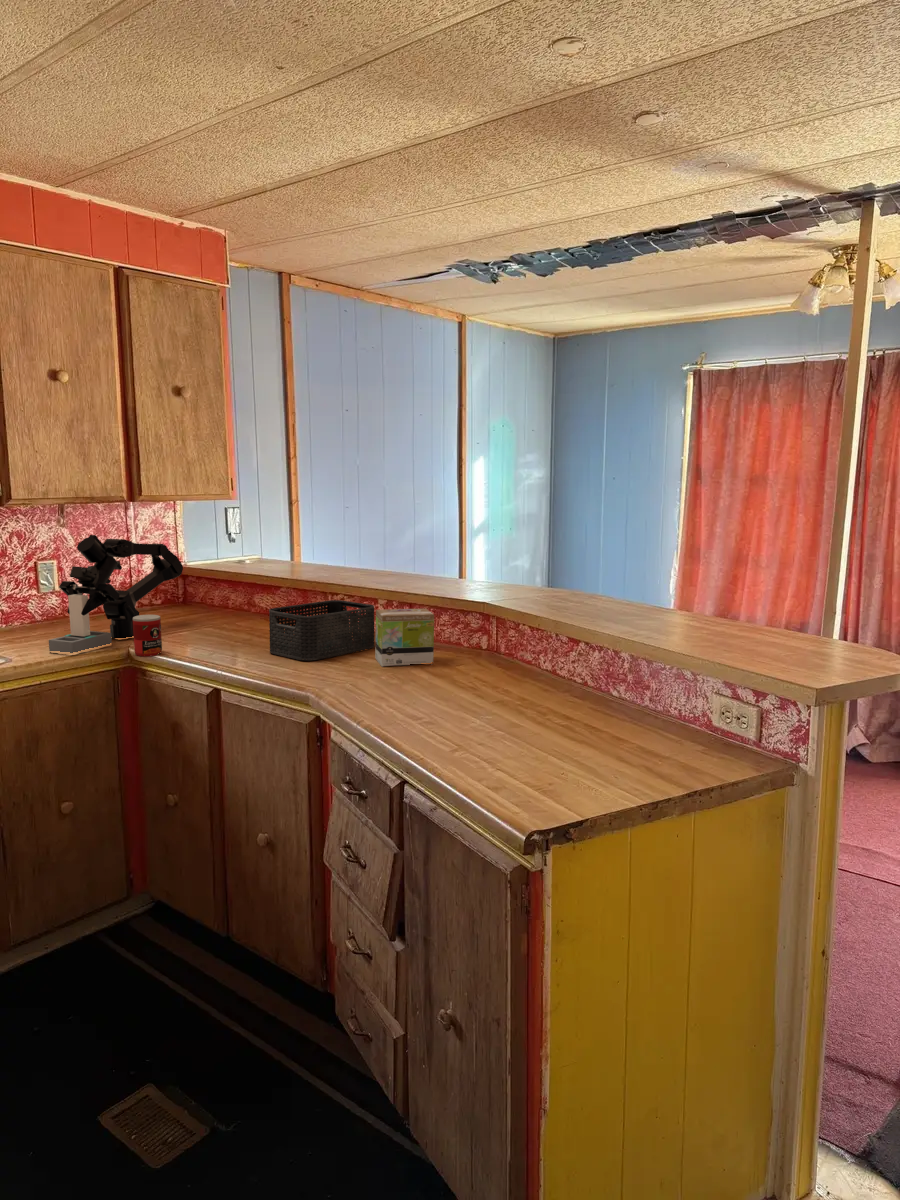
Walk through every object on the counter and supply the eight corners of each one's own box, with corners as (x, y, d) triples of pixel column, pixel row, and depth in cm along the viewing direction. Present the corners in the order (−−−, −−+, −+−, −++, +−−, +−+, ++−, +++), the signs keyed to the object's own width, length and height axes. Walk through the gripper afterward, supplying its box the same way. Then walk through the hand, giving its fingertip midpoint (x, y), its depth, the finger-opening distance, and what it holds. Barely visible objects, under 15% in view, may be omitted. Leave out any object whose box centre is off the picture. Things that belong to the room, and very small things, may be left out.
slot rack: (89, 643, 258) (88, 629, 257) (111, 645, 255) (111, 632, 254) (49, 653, 244) (48, 639, 243) (72, 655, 241) (71, 641, 240)
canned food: (144, 658, 239) (142, 620, 237) (128, 654, 244) (126, 617, 242) (167, 653, 245) (166, 616, 243) (152, 649, 250) (150, 613, 248)
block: (77, 633, 251) (74, 594, 249) (90, 634, 249) (87, 595, 247) (70, 635, 248) (68, 595, 246) (83, 636, 246) (81, 596, 244)
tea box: (381, 667, 229) (381, 615, 227) (375, 659, 239) (374, 608, 237) (434, 664, 233) (434, 612, 231) (425, 656, 243) (426, 606, 241)
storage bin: (336, 639, 268) (336, 597, 265) (379, 647, 255) (379, 604, 253) (264, 654, 246) (263, 609, 244) (307, 664, 234) (306, 617, 232)
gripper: (61, 554, 252) (34, 595, 243) (110, 557, 245) (83, 600, 237) (83, 576, 260) (57, 617, 252) (130, 580, 254) (106, 622, 245)
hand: (75, 614), depth 246 cm, fingers closed on block, 5 cm apart
